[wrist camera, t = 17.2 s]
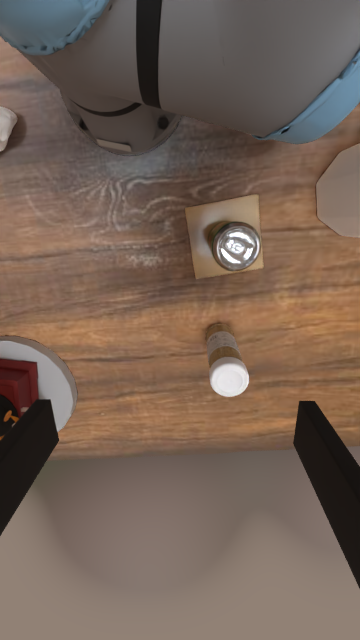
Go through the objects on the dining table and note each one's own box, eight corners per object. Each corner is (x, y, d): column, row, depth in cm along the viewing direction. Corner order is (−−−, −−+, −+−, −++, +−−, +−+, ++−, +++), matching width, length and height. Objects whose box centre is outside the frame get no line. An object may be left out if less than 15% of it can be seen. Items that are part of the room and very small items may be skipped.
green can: (231, 264, 40) (245, 281, 29) (200, 247, 40) (203, 258, 28) (250, 231, 39) (273, 237, 27) (218, 213, 38) (229, 211, 27)
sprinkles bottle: (215, 353, 46) (224, 404, 33) (199, 332, 45) (202, 377, 32) (239, 338, 45) (257, 385, 32) (223, 316, 43) (235, 357, 31)
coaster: (184, 208, 38) (184, 207, 38) (257, 194, 37) (258, 193, 37) (195, 278, 42) (195, 279, 41) (263, 267, 41) (263, 268, 40)
